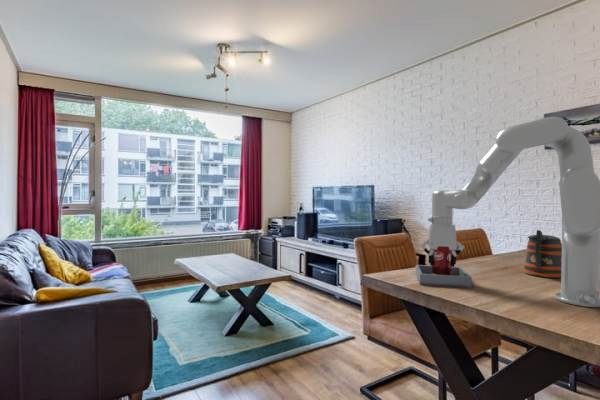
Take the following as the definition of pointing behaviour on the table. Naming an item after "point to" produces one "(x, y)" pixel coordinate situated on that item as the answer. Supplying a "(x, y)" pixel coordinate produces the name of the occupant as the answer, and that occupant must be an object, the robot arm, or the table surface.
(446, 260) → the soda can
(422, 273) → the tray
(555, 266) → the beer stein
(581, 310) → the table surface
